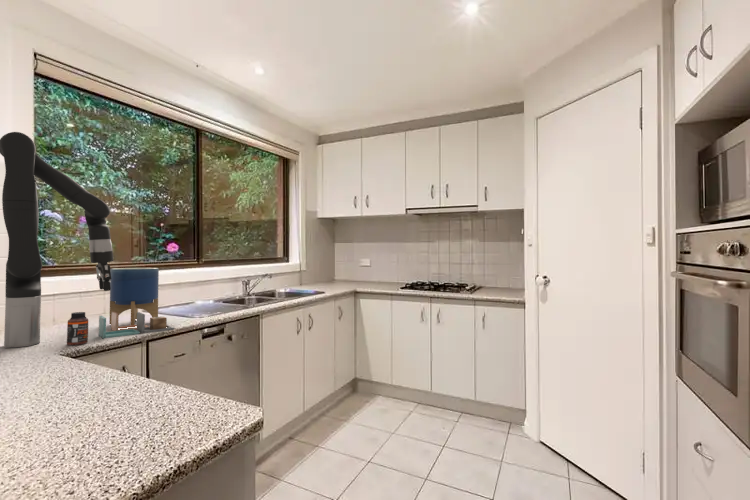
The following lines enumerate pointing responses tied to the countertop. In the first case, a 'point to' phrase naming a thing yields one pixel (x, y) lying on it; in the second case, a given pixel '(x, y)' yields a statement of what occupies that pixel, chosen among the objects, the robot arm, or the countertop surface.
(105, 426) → the countertop surface
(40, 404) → the countertop surface
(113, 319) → the pale pink holder
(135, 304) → the planter
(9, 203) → the robot arm
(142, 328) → the gray bookend
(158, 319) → the letter cube
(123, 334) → the tray teal
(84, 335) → the supplement bottle
